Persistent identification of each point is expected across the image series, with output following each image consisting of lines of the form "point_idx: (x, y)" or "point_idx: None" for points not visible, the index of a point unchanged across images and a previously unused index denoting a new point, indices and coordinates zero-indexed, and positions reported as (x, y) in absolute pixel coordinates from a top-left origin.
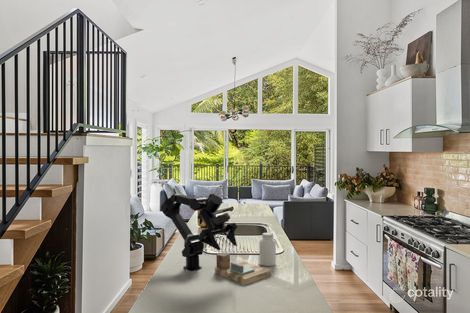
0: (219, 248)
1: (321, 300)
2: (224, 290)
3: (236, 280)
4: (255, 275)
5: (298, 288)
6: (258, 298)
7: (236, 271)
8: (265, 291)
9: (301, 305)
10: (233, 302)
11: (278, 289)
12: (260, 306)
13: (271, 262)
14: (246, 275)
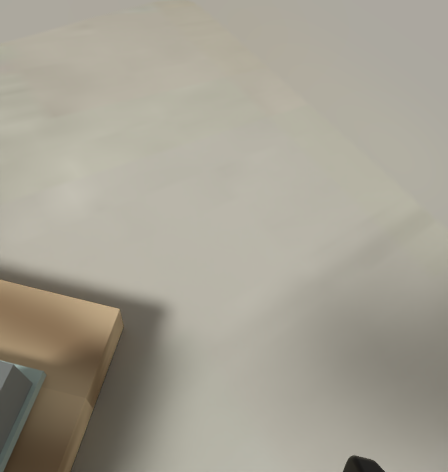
0: (378, 469)
1: (129, 9)
2: (299, 390)
3: (87, 421)
4: (1, 280)
5: (39, 83)
6: (261, 175)
7: (7, 452)
8: (160, 181)
9: (213, 43)
10: (386, 246)
11: (98, 143)
12: (326, 139)
13: None
14: (33, 338)
